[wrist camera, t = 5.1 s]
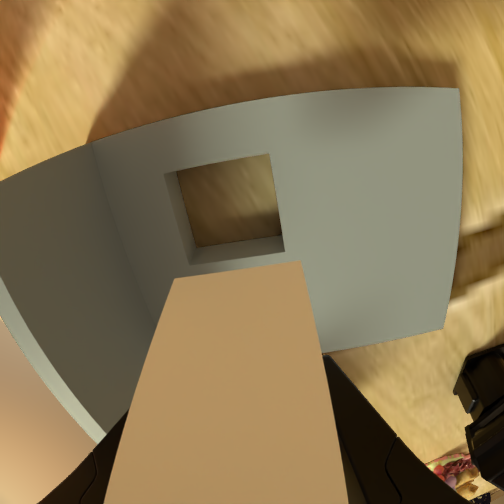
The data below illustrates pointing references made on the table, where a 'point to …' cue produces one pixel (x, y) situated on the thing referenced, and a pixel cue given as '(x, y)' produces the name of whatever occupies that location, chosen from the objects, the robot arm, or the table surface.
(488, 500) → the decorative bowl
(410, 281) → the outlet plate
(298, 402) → the block
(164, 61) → the table surface
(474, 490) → the candy landscape model
